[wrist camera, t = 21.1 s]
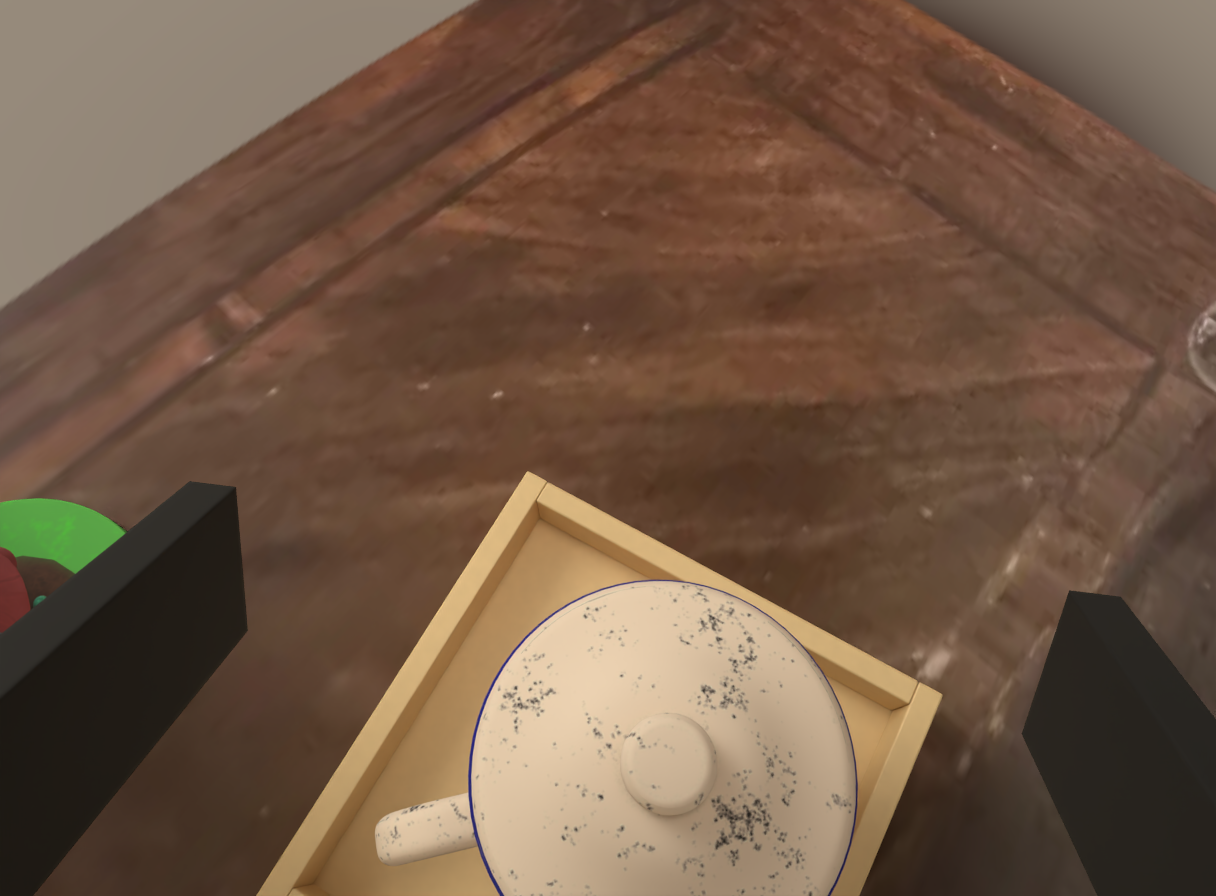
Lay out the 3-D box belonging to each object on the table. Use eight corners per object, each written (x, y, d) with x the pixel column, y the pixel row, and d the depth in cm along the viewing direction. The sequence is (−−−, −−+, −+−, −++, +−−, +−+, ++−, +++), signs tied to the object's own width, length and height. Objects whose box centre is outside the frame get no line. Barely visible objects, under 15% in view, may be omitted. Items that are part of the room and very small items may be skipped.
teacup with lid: (747, 613, 31) (815, 505, 21) (830, 902, 28) (965, 954, 17) (398, 694, 30) (279, 625, 20) (441, 1003, 27) (326, 1124, 16)
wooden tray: (916, 704, 31) (943, 694, 28) (712, 1182, 26) (723, 1222, 23) (534, 497, 34) (527, 470, 31) (285, 891, 29) (253, 899, 26)
